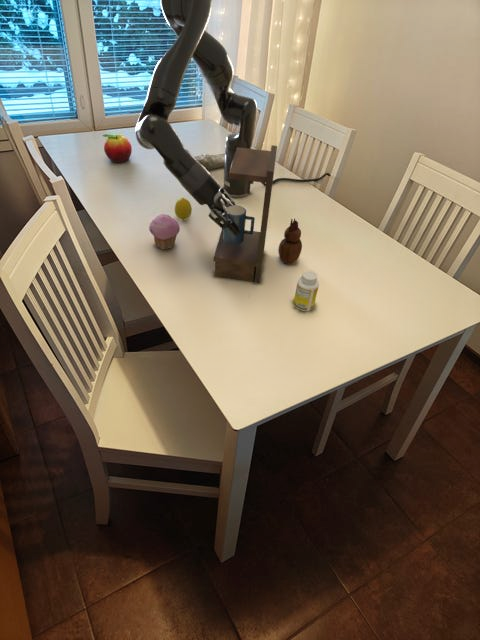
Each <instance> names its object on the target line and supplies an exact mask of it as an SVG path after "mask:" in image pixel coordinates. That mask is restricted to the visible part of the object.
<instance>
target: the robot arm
mask: <svg viewBox="0 0 480 640" xmlns="http://www.w3.org/2000/svg"><path fill="white" fill-rule="evenodd" d="M160 7H161V10H162V14H163V16H164V18H165V20H166V22H167V24H168V25H169V27H170V28H171V30H172V31H173V32H174V34H175V35H176V36H177V38H176V40H175V41H174V43H173V44H172V45H171V46H170V47H169V49H168V50H167V51H166V52H165V54H164V55H162V57H161V58H160V60H159V61H158V62H157V64H156V66H155V68H154V71H153V74H152V76H151V80H150V84H149V87H148V91H147V95H146V99H145V102H144V105H143V107H142V109H141V112H140V114H139V117H138V120H137V123H136V126H135V133H134V135H135V139H136V141H137V143H138V144H139V145H140V146H141V147H142V148H143V149H146V150H156V152H157V153H158V154H159V156H160V157H161V158H162V159H163V165H164V167H165V168H166V169H167V171H169V173H171V174H172V176H173V177H174V178H175V179H176V180H177V181H178V182H179V184H180V185H181V187H182V188H184V190H185V191H187V193H188V195H190V196H191V197H192V198H193V199H194V200H195V201H196V202H197V204H198V205H200V206H204V205H206V206H207V207H208V209H209V210H210V212H209V213H208V214H207V216H208V217H209V218H210V219H211V220H212V221H213V222H214V223H215V224H216V225H217V226H218V227H220V228H221V229H225V228H226V227H227V228H228V229H229V230H230V231H231V232H232V233H233V234H234V235H235V236H237V235H239V234H240V233H241V229H240V228H239V227H238V226H237V225H236V224H235V223H234V222H233V221H232V219H231V218H230V216H229V214H230V213H229V211H228V210H227V207H228V206H230V205H237V203H236V202H235V200H234V199H233V198H243V197H245V196H247V195H250V194H251V186H252V185H254V181H246V180H237V179H229V171H230V168H231V165H232V162H233V159H234V155H235V152H236V149H237V147H239V148H248V149H253V141H254V139H255V131H256V124H257V123H256V122H257V116H258V104H257V102H256V99H254V98H251V97H248V96H245V95H240V94H237V93H235V92H234V90H232V88H231V84H232V82H233V79H234V73H235V71H234V66H233V63H232V61H231V58H230V56H229V54H228V52H227V50H226V48H225V47H224V45H223V44H221V42H220V41H219V40H218V39H216V38H215V37H214V36H213V35H212V34H210V33H209V32H208V31H207V30H206V28H207V26H208V23H209V22H210V19H211V18H210V17H211V13H212V0H160ZM191 61H193V62H194V64H195V65H196V68H197V69H198V72H199V73H200V75H201V76H202V79H203V80H204V82H205V84H206V85H207V87H208V89H209V91H210V92H211V94H212V96H213V98H214V100H215V103H216V105H217V109H218V110H219V113H220V115H221V117H222V119H223V121H224V122H226V123H227V124H229V125H232V126H235V127H238V128H239V130H238V132H233V133H230V134H228V135H227V136H226V137H225V143H224V144H225V145H224V146H225V147H224V154H225V165H224V166H223V186H221V184H220V183H219V182H218V180H217V179H216V177H214V176H213V175H212V174H211V173H210V171H209V170H207V169H206V168H205V167H204V166H203V165H202V164H201V163H199V162H198V161H197V160H196V159H195V158H194V155H193V154H192V153H191V152H190V150H188V148H186V146H185V145H184V143H183V142H182V140H181V138H180V137H179V135H178V134H177V132H176V131H175V129H174V128H173V126H172V125H171V123H170V122H169V121H168V120H169V118H170V115H171V114H172V112H173V111H174V110H175V107H176V105H177V101H178V98H179V94H180V91H181V87H182V84H183V81H184V79H185V78H184V77H185V74H186V72H187V69H188V67H189V64H190V62H191ZM325 177H331V174H330V172H325V173H324V174H322V175H321V176H319V177H316V178H309V179H307V178H306V179H305V178H304V179H302V178H301V179H300V178H299V179H298V178H290V177H278V178H275V179H273V184H275V183H276V182H280V181H286V182H287V181H288V182H295V183H310V182H318V181H321V180H322V179H324V178H325ZM260 183H261V185H263V186H264V187H266V183H263V182H260ZM224 213H225V214H224ZM225 217H226V218H227V219H228V220H227V219H226V218H225Z"/></svg>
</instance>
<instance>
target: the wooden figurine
mask: <svg viewBox="0 0 480 640" xmlns="http://www.w3.org/2000/svg"><path fill="white" fill-rule="evenodd" d="M283 236H284V238H282V239H281V241H280V243H279V244H278V251H277V252H278V256H279V259H280V261H281V262H282V263H284V264H286V265H287V264H288V265H291V264H295V262H297V261H298V260H299V258H300V256H301V253H302V249H303V243H302V240H301V236H302V230H301V228H299V222H298V220H296V218H295V217H294V219H293V218H291V219H290V223H289V226H288V227H287V228H286V229H285V230H284V234H283Z"/></svg>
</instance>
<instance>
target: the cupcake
mask: <svg viewBox="0 0 480 640" xmlns="http://www.w3.org/2000/svg"><path fill="white" fill-rule="evenodd" d="M148 230H149V232H150V234H151V235H152V236H153V240H154V244H155V246H156V247H157V248H160V249H162V250H169V249H171V248H173V247H174V246H175V243H176V239H177V236H178V234H179V233H180V230H181V229H180V224H179V222H178V220H177V219H175V218H174V217H172V216H171V215H169V214H165V213H164V214H163V213H162V214H159V215H157V216H155V217H154V218H153V219H152V220H151V222H149V225H148Z"/></svg>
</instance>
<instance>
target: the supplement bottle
mask: <svg viewBox="0 0 480 640" xmlns="http://www.w3.org/2000/svg"><path fill="white" fill-rule="evenodd" d="M319 286H320V283H319V280H318V274H317V273H316V272H315V271H313V270H304V271H303V272H302V273H301V276H300V277H299V278H298V279H297V282H296V289H295V293H294V299H293V305H294V307H295V308H296V309H297V310H298V311H299V310H300V311H301V312H302V311H303V312H308V311H311V310H313V309H314V307H315V303H316V300H317V299H316V298H317V295H318V290H319Z"/></svg>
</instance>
